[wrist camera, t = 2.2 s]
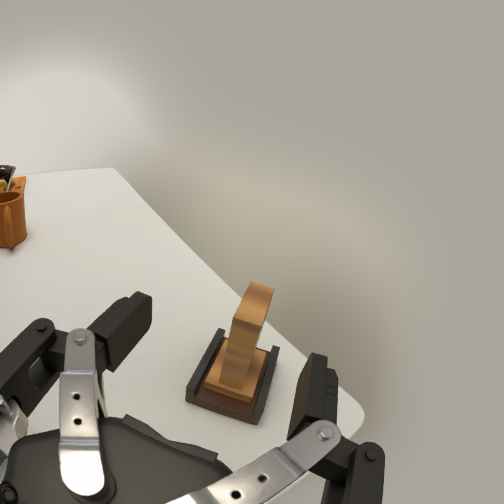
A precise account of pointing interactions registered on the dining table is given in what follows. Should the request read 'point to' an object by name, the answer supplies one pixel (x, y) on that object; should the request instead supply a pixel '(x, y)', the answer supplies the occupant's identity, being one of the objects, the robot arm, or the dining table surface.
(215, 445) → the dining table surface
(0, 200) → the mug
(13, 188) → the food tray
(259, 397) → the brown u-shaped block
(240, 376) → the wooden pedestal block
